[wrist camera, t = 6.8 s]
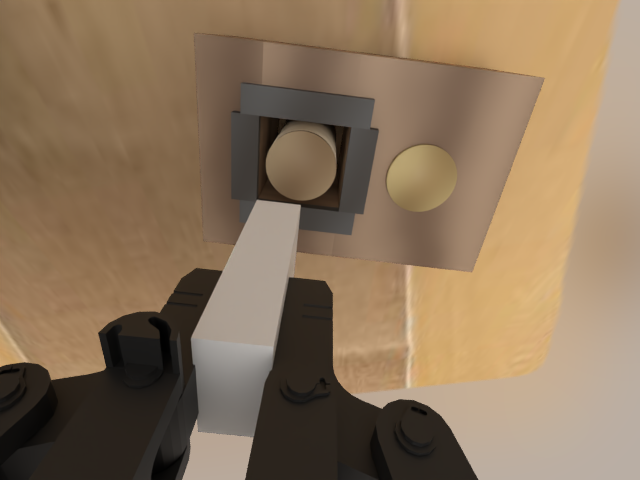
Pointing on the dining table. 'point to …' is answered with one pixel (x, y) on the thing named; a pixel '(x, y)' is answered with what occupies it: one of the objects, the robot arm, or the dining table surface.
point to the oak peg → (303, 160)
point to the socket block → (361, 146)
